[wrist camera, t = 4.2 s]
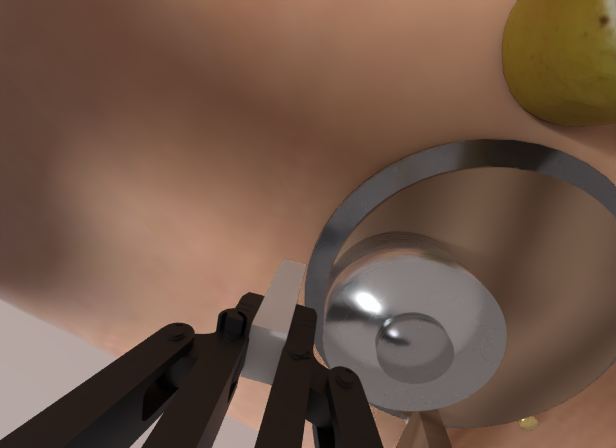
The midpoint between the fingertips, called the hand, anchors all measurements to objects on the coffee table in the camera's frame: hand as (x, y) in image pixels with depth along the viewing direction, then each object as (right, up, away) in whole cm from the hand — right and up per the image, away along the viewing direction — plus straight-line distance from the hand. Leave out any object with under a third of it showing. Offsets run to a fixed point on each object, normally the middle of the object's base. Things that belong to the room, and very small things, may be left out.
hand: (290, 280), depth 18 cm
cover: (+7, -1, +1) cm, 7 cm away
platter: (+11, -4, +2) cm, 12 cm away
